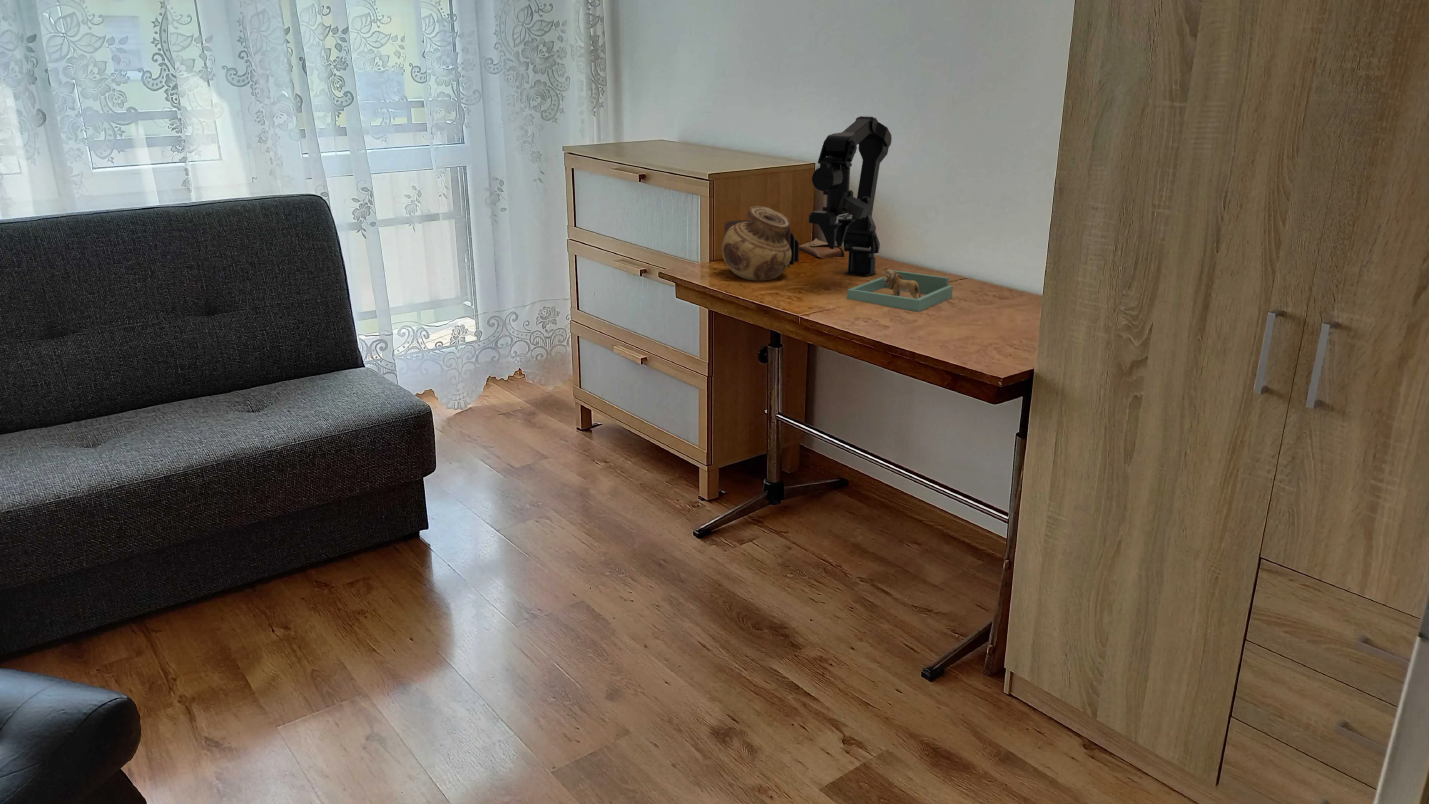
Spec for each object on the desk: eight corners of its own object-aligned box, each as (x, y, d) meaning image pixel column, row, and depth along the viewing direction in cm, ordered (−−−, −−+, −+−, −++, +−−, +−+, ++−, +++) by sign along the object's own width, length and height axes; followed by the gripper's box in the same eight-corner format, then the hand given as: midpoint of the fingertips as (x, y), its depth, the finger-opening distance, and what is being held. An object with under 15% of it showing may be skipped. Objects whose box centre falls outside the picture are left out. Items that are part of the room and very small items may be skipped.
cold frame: (846, 301, 252) (847, 281, 250) (883, 287, 267) (884, 268, 265) (918, 312, 241) (919, 292, 240) (951, 297, 256) (953, 278, 254)
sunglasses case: (791, 247, 313) (804, 229, 313) (807, 260, 316) (819, 242, 316) (819, 257, 297) (833, 239, 297) (835, 271, 301) (848, 253, 301)
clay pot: (769, 291, 263) (770, 214, 256) (708, 283, 272) (708, 208, 265) (802, 278, 278) (804, 204, 271) (744, 270, 287) (744, 199, 281)
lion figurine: (878, 298, 255) (880, 270, 253) (886, 295, 258) (888, 267, 256) (921, 305, 248) (923, 276, 246) (929, 302, 251) (931, 273, 249)
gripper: (847, 193, 244) (845, 257, 249) (883, 185, 259) (880, 245, 264) (808, 189, 251) (806, 252, 256) (845, 181, 265) (843, 241, 270)
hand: (835, 247), depth 261 cm, fingers open, 3 cm apart
